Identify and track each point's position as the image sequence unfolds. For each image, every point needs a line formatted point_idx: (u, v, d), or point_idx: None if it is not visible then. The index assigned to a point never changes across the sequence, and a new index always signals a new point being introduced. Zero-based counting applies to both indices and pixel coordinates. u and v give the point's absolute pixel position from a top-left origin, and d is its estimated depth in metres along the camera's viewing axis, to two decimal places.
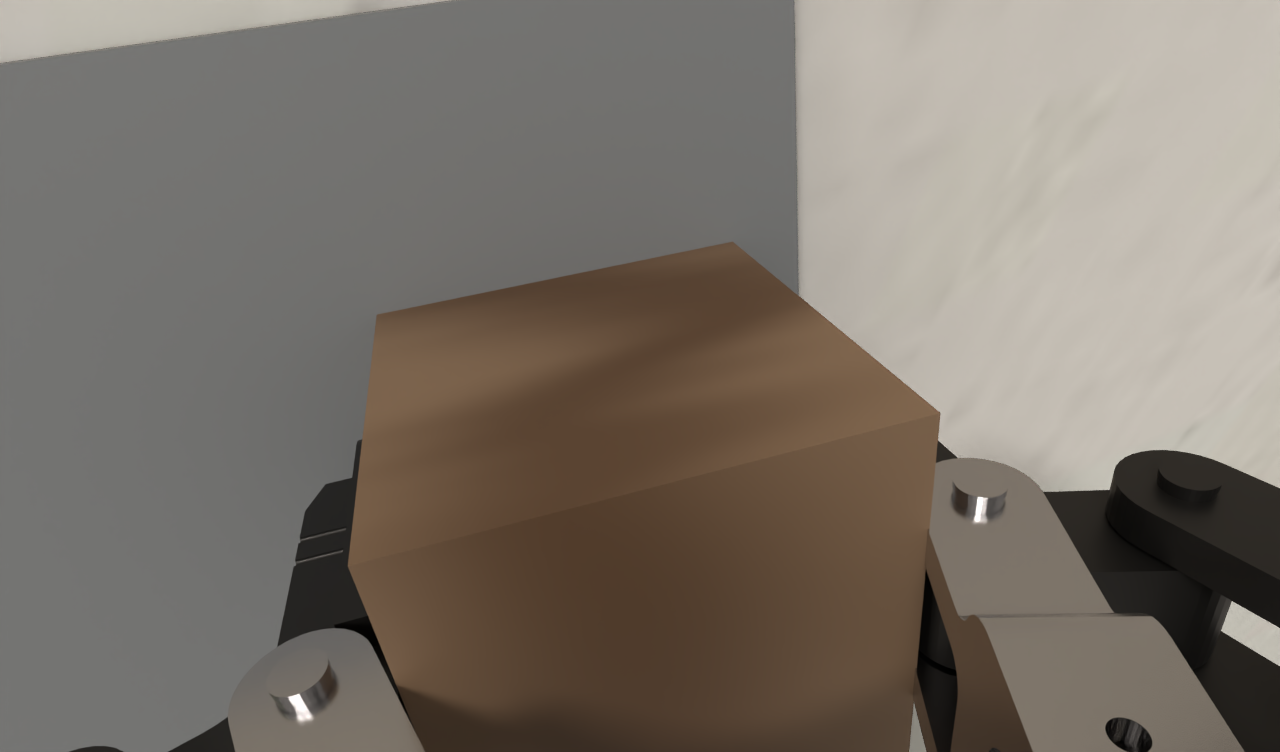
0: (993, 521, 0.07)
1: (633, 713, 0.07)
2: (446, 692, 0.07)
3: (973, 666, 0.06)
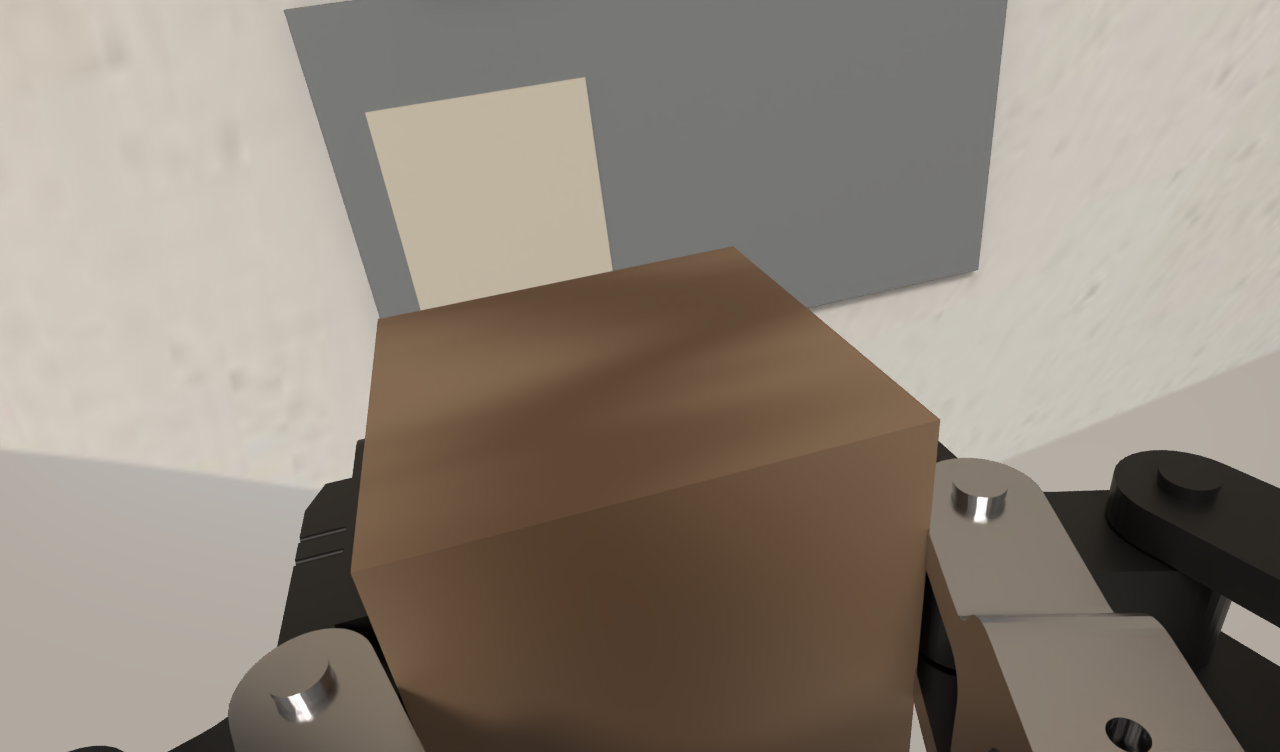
0: (993, 522, 0.07)
1: (634, 720, 0.07)
2: (447, 697, 0.07)
3: (973, 665, 0.06)
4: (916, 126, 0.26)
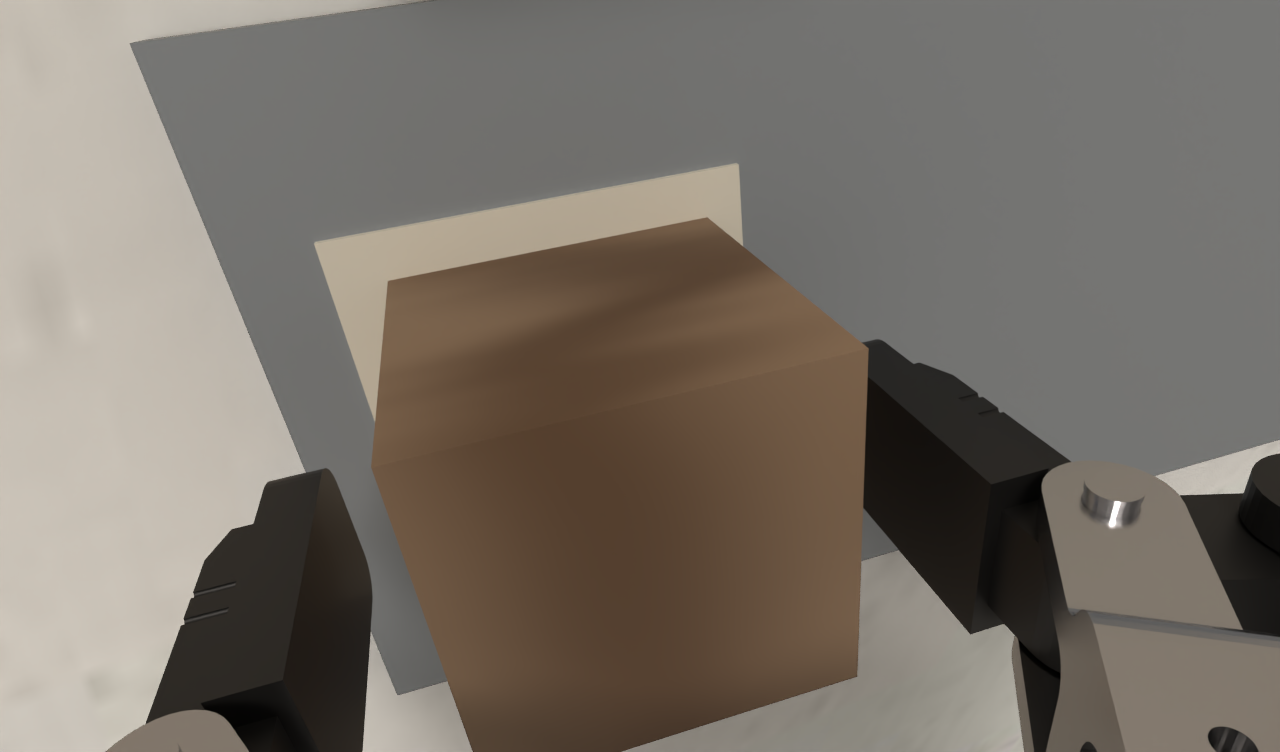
0: (1133, 526, 0.07)
1: (612, 612, 0.09)
2: (451, 584, 0.08)
3: (1077, 661, 0.06)
4: (1265, 227, 0.15)
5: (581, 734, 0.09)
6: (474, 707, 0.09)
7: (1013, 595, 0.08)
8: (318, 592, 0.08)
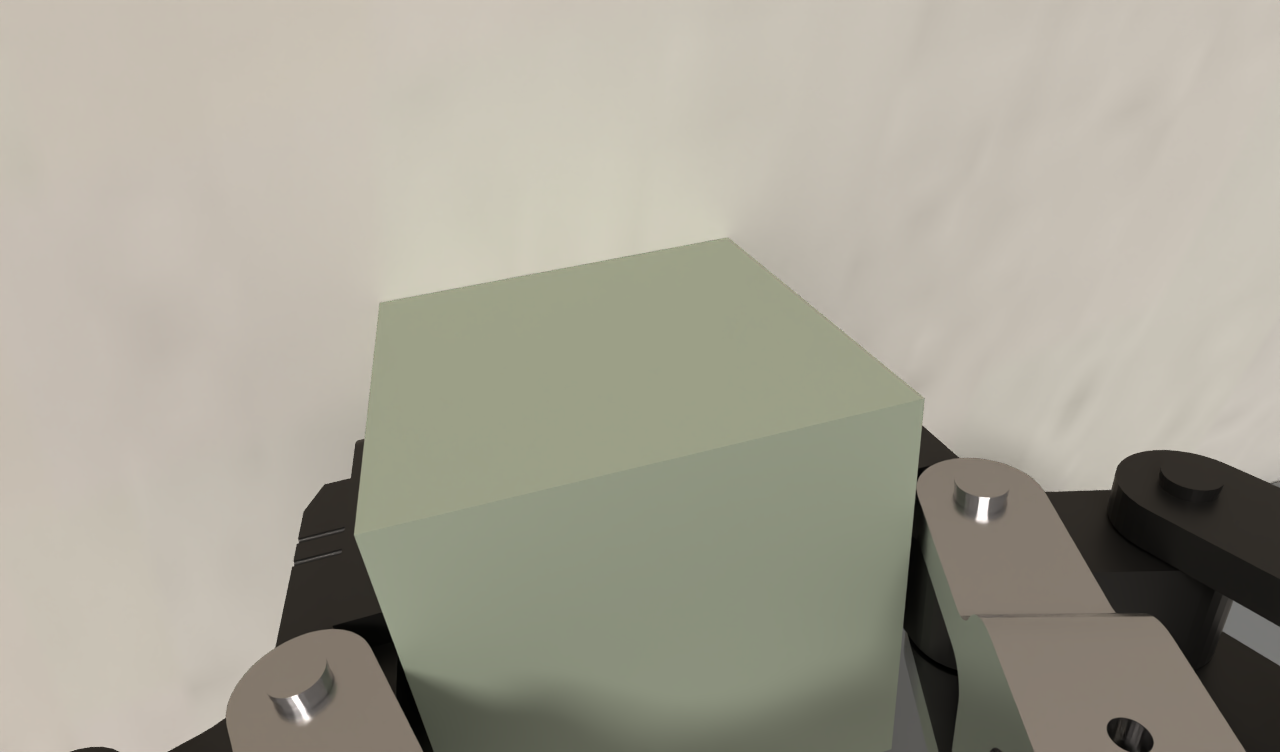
0: (995, 521, 0.07)
1: None
2: None
3: (975, 665, 0.06)
4: None
5: None
6: None
7: None
8: None
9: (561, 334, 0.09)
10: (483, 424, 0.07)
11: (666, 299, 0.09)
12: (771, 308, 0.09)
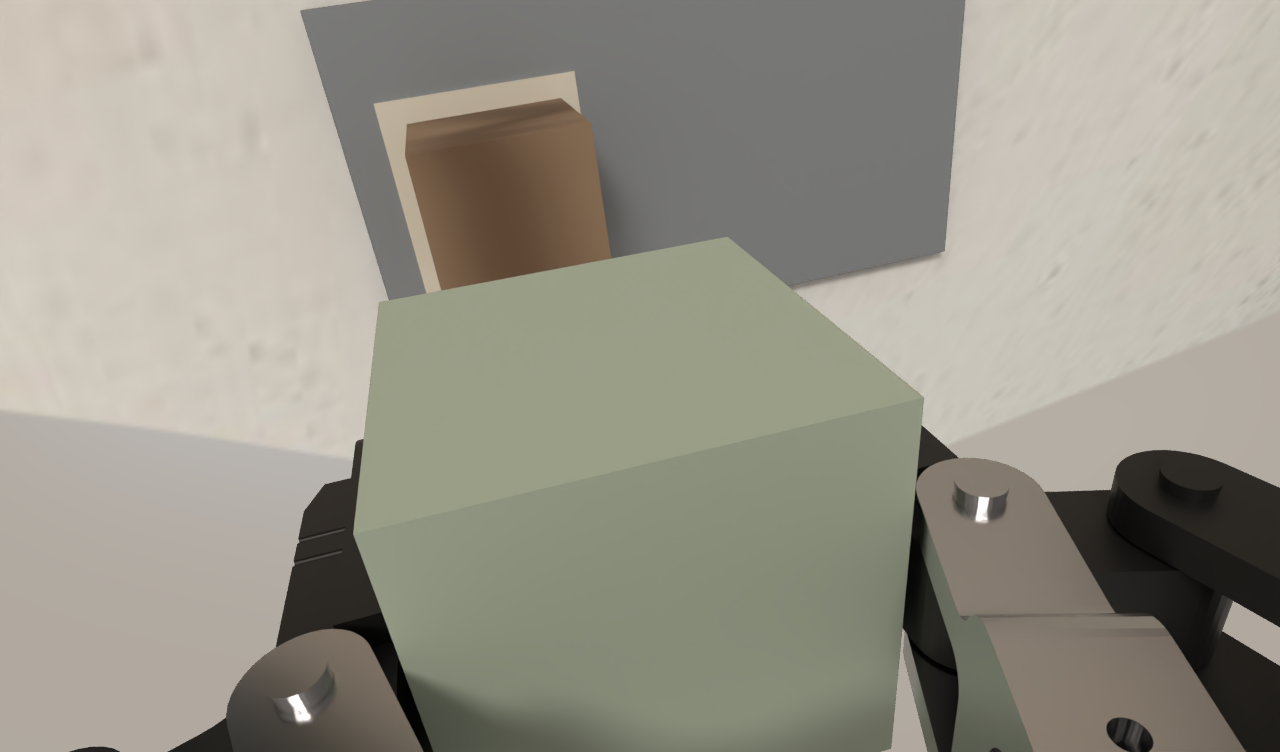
0: (994, 521, 0.07)
1: (498, 237, 0.21)
2: (434, 212, 0.21)
3: (975, 667, 0.06)
4: (883, 116, 0.28)
5: None
6: (444, 277, 0.21)
7: None
8: None
9: (559, 333, 0.09)
10: (482, 423, 0.07)
11: (666, 298, 0.09)
12: (770, 308, 0.09)
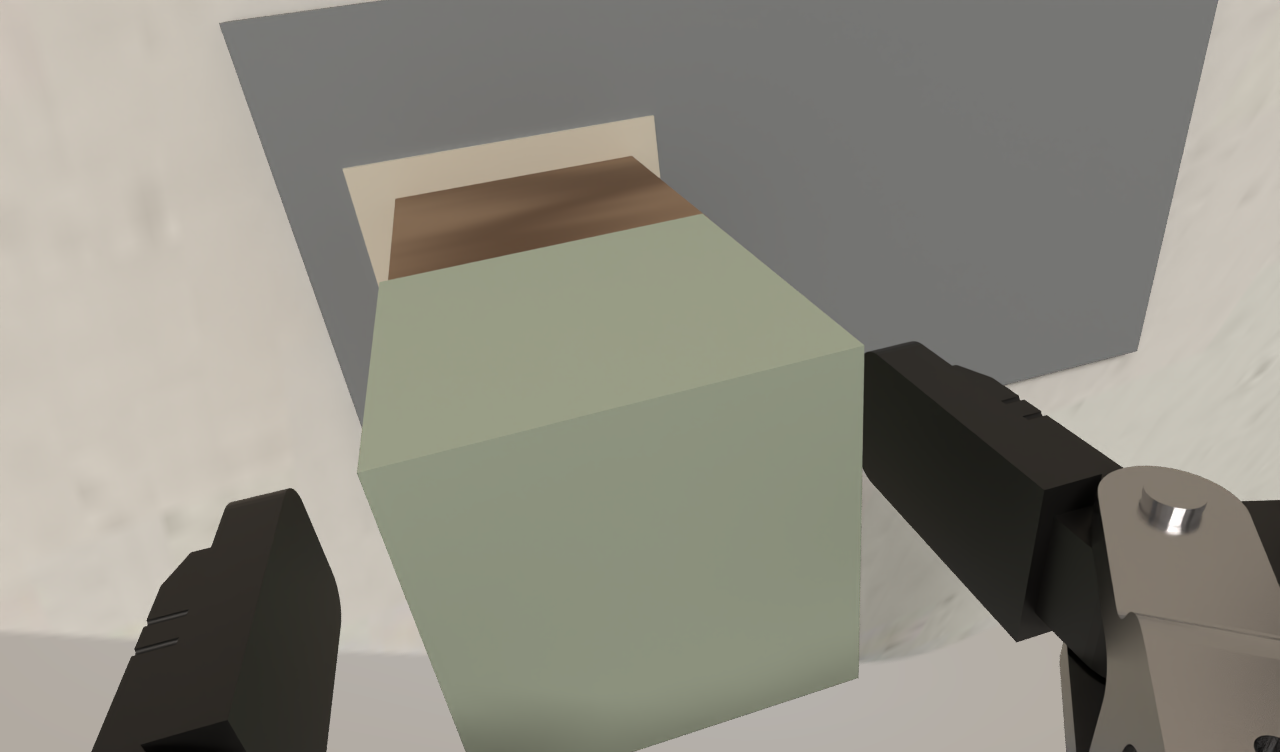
0: (1197, 534, 0.07)
1: None
2: None
3: (1123, 664, 0.06)
4: (1082, 174, 0.20)
5: None
6: None
7: (1064, 602, 0.08)
8: (275, 620, 0.08)
9: (543, 303, 0.10)
10: (471, 380, 0.08)
11: (641, 270, 0.10)
12: (736, 274, 0.10)
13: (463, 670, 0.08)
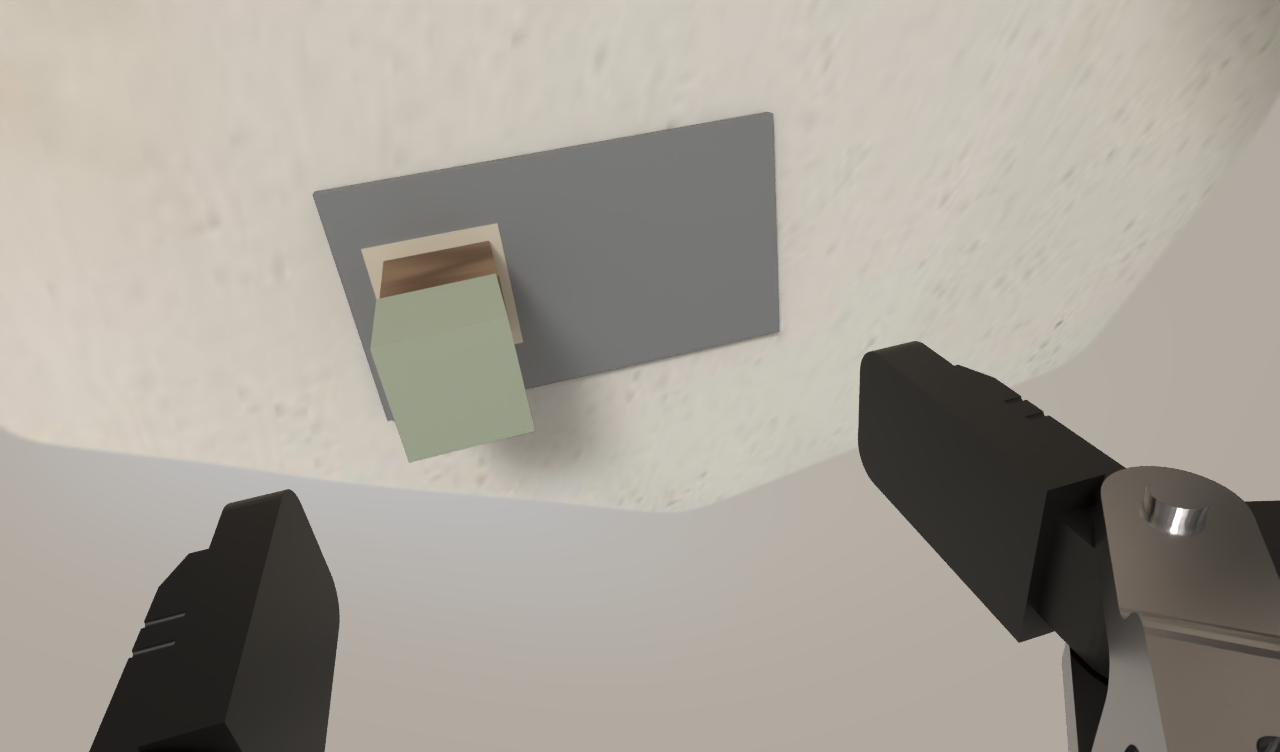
0: (1200, 534, 0.07)
1: None
2: None
3: (1125, 665, 0.06)
4: (722, 242, 0.40)
5: None
6: None
7: (1067, 604, 0.08)
8: (273, 622, 0.08)
9: (428, 307, 0.30)
10: (402, 329, 0.28)
11: (463, 295, 0.30)
12: (490, 297, 0.30)
13: (400, 412, 0.28)
